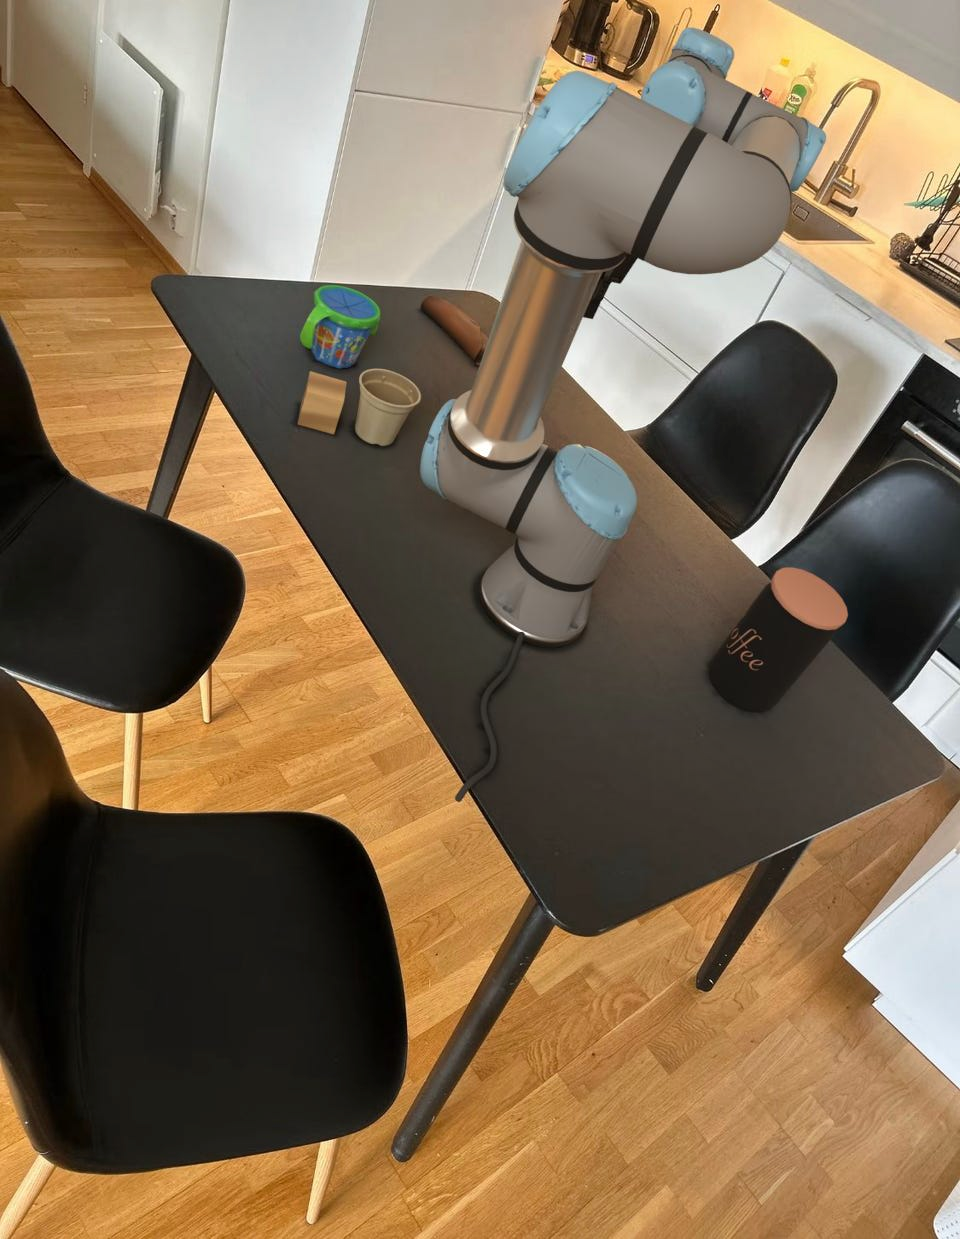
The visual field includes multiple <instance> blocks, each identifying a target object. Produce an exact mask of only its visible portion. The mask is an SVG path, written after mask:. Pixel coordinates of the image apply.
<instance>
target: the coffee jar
mask: <svg viewBox="0 0 960 1239" xmlns="http://www.w3.org/2000/svg"><path fill="white" fill-rule="evenodd" d="M848 616H849V613H848V607H847V605H846V604H845V602H844V599H843V598H842V597H841V595H840V594H839V593H838V592H837V591H836V590H835V589H834V588H833V587H832V586H831V585H830V584H828V583H827V582H826V581H825V580H823V579H822V578H820V577H819V576H817V575H816V574H813V573H812V572H809V571H807V570H805V569H802V568H797V567H793V566H792V567H790V566H789V567H782V568H779V569H778V570H776V571H775V573H774V575H773V576H772V578H771V580H770V582H769V583H767V584H765V585H764V587H763V589H761V591H760V592H759V594H758V595H757V596H756V598H755V599H754V601H752V603H751V604H750V606H749V607H748V609H747V610H746V611H745V613H744V614H743V616H742V617H741V618H740V619H739V620H738V622H737V623H736V624H735V626H734V628H733V629H732V630H731V632H730V633H729V634H728V636H727V637H726V639H724V641H723V642H722V643H721V645H720V646H719V648H717V650H716V651H715V653H714V654H713V656H712V657H711V659H710V661H709V664H708V665H709V668H708V673H709V679H710V683H711V685H712V687H713V688H714V689H715V691H716V693H717V694H718V695H719V696H720V697H721V698H722V699H723V700H724V701H726V702H727V703H729V704H730V705H732V706H733V707H735V708H737V709H739V710H741V711H744V712H750V713H759V712H765V711H769V710H770V709H771V710H772V708H773V707H775V706H777V704H778V703H779V702H780V701H781V699H782V698H783V697H784V696H785V695H786V693H787V692H788V691H789V690H790V689H791V688H792V686H793V685H794V684H795V683H796V682H797V680H798V679H799V678H800V677H801V676H802V675H803V673H804V672H805V671H806V670H807V668H808V667H809V666H810V665H811V664H812V663H813V662H814V660H815V659H816V658H817V657H818V656H819V654H820V653H821V652H822V651H823V650H824V648H825V647H826V646H827V645H828V644H829V643H830V641H831V640H832V639H833V638H834V637H835V634H836V632H837V629H840V628H841V627H842V626H843V625H844V624H846V622H847V619H848Z"/></svg>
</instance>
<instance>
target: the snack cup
mask: <svg viewBox="0 0 960 1239" xmlns="http://www.w3.org/2000/svg"><path fill="white" fill-rule="evenodd" d="M313 297H314V299H313V301H314V308H313V309H312V311H310V313H309V315H308V317H307V318H306V321H305V322H304V325H303V327H302V330H301V332H300V334H299V339H300V342H301V343H302V345H303V346H304V347H305V348H307V349H311V354H313V356H314V357H315V360H316V361H318V362H321V363H323V364H324V365H326V366H329V367H332V368H335V369H338V370H341V369H348V368H350V367H352V366H354V365H355V364H356V362H357V361H358V359H359V357H360V355H361V352H362V350H363V349H364V347H365V344H366V342H367V340H368V338H369V336H375V335H376V333H377V331H378V328H379V322H380V320H381V309H380V306H378V304H377V303H376V302H375V301H374V300H373V299H372V298H370V297H369V296H367V295H366V294H364V293H362V292H360V291H358V290H356V289H353V288H351V287H347V286H343V285H338V284H337V285H336V284H326V285H322V286H320V287H318V288H317V289H316V290H315V291H314V293H313Z"/></svg>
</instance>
